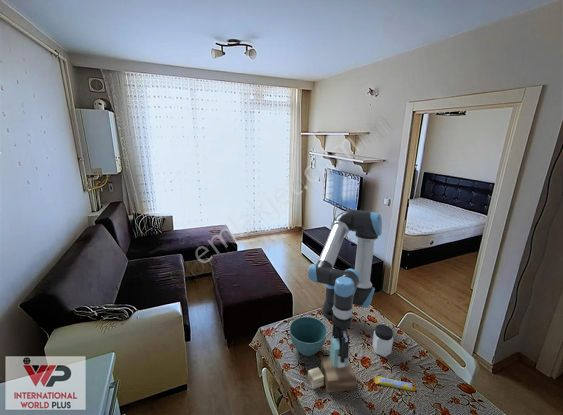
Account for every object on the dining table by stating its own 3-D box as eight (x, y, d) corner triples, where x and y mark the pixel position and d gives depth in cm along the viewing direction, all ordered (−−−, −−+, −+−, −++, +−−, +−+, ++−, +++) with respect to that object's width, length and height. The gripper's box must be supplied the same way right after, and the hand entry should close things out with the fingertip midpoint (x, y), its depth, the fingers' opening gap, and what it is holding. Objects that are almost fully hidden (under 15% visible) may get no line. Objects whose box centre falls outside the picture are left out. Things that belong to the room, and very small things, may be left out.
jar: (383, 359, 124) (385, 339, 120) (369, 348, 130) (371, 328, 127) (394, 351, 128) (397, 331, 125) (380, 341, 135) (382, 321, 132)
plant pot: (283, 356, 125) (283, 335, 122) (297, 331, 141) (298, 312, 138) (318, 370, 118) (320, 348, 114) (330, 343, 133) (331, 323, 130)
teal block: (329, 355, 114) (331, 338, 112) (343, 354, 115) (344, 337, 112) (333, 367, 108) (335, 349, 106) (347, 365, 109) (349, 348, 106)
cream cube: (307, 379, 114) (308, 370, 112) (317, 375, 115) (318, 366, 114) (313, 389, 109) (313, 380, 108) (323, 385, 111) (323, 376, 109)
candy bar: (413, 384, 112) (414, 381, 111) (416, 393, 108) (417, 390, 107) (373, 376, 115) (373, 373, 115) (374, 385, 111) (374, 381, 111)
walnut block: (320, 367, 119) (321, 357, 118) (345, 365, 120) (346, 354, 119) (327, 392, 108) (328, 381, 106) (355, 389, 109) (356, 378, 107)
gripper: (326, 300, 114) (324, 343, 120) (340, 331, 96) (336, 380, 102) (343, 299, 115) (339, 342, 121) (360, 330, 96) (355, 379, 103)
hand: (338, 359), depth 111 cm, fingers closed on teal block, 6 cm apart
